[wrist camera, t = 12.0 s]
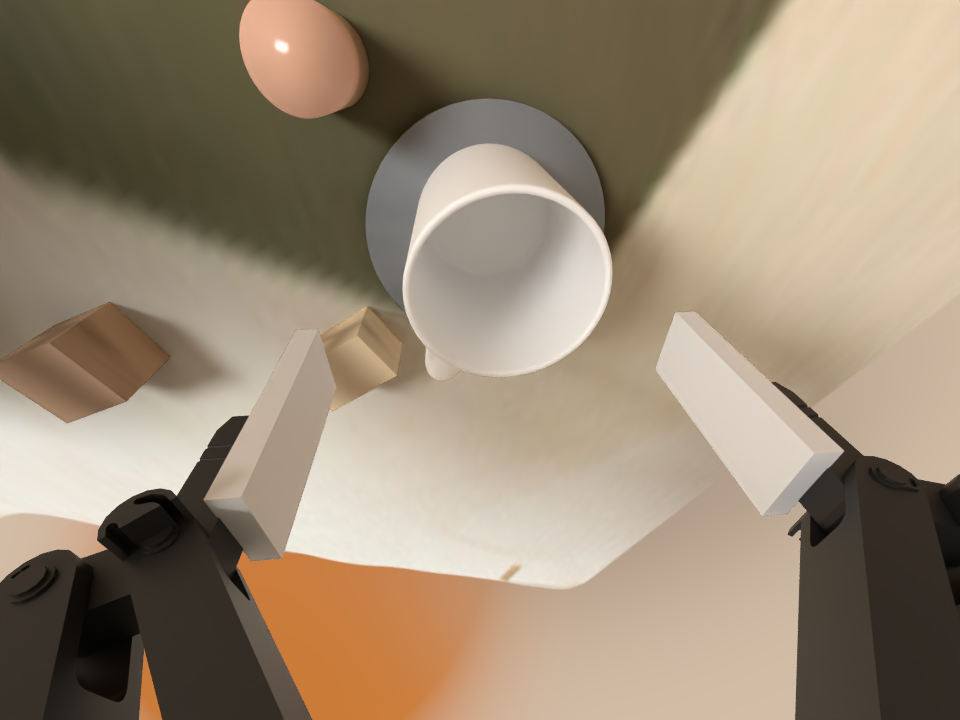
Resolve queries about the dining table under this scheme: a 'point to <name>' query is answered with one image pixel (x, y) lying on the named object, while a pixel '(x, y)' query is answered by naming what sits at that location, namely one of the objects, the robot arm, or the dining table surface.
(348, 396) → the beech block
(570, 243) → the mug
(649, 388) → the dining table surface
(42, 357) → the walnut block
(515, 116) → the gray plate
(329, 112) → the peach egg shape
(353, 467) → the dining table surface
